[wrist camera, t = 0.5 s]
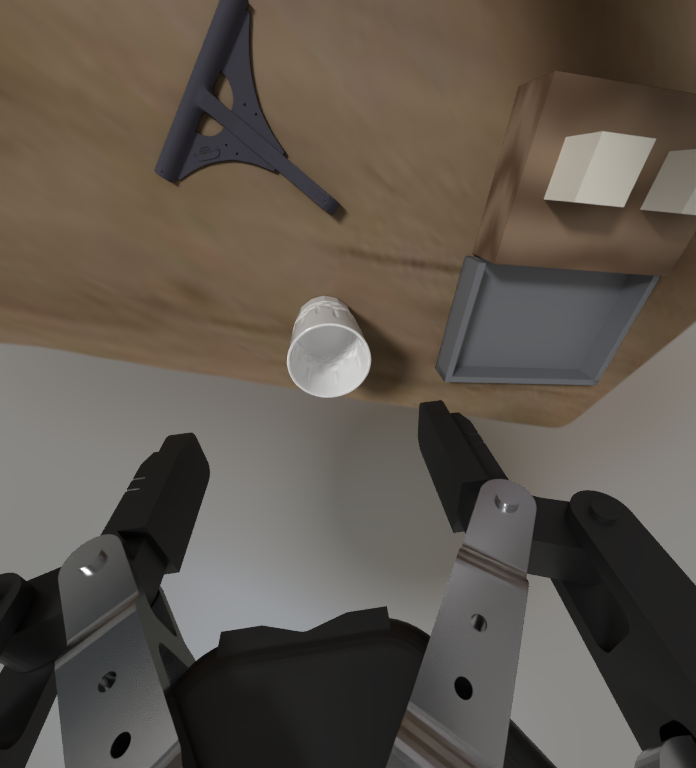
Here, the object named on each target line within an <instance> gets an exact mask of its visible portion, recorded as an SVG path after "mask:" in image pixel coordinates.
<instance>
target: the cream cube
mask: <svg viewBox="0 0 696 768" xmlns="http://www.w3.org/2000/svg"><path fill="white" fill-rule="evenodd" d="M655 141H656V139H655V138H648V137H641V136H633V135H626V134H619V133H612V132H605V131H601V132H594V133H588V134H582V135H576V136H569V137H566V138H565V141H564V144H563V147H562V149H561V152H560V155H559V158H558V161H557V163H556V166H555V169H554V172H553V175H552V177H551V180H550V183H549V186H548V189H547V191H546V194H545V197H544V199H545V200H554V201H564V202H573V203H583V204H593V205H603V206H614V207H624V206H625V204H626V201H627V199H628V197H629V195H630V193H631V191H632V189H633V187H634V185H635V183H636V180H637V178H638V176H639V174H640V172H641V170H642V168H643V166H644V164H645V162H646V159H647V157H648V155H649V153H650V151H651V149H652V147H653V145H654V143H655Z"/></svg>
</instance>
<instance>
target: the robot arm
mask: <svg viewBox="0 0 696 768" xmlns="http://www.w3.org/2000/svg"><path fill="white" fill-rule="evenodd" d="M418 441H419V447H420V450H421V453H422V456H423V458H424V460H425V463H426V466H427V468H428V470H429V473H430V476H431V478H432V480H433V483H434V486H435V488H436V491H437V493H438V496H439V498H440V501H441V503H442V505H443V508H444V510H445V513H446V516H447V518H448V521H449V523H450V525H451V528H452V530H453V533H456V532H463V531H464V532H465V534H466V535H465V538H464V541H463V544H462V547H461V549H460V550H459V552H458V555H457V557H456V560H455V563H454V566H453V570H452V572H451V576H450V579H449V582H448V585H447V588H446V591H445V594H444V597H443V600H442V603H441V606H440V609H439V612H438V615H437V618H436V622H435V624H434V627H433V630H432V634H431V636H429V635H428V634H427V633H425V632H424V631H422V630H421V629H419V628H417V627H415V626H413V625H411V624H409V623H407V622H403V621H400V620H397V619H391V618H389V616H388V610H387V606H386V607H379V608H372V609H366V610H360V611H353V612H347V613H345V614H343V615H340V616H339V617H336V618H334V619H332V620H330V621H328V622H326V623H324V624H321V625H319V626H317V627H315V628H313V629H311V630H309V631H306V632H298V631H292V630H286V629H280V628H274V627H268V626H256V627H250V628H244V629H237V630H231V631H225V632H221V635H220V640H219V645H218V647H216V648H214V649H213V650H211V651H210V652H208V653H206V654H205V655H203V656H202V657H201V658H199V659H198V660H197V661H195V659H194V657H193V655H192V654H191V652H190V651H189V649H188V648H187V646H186V644H185V642H184V640H183V638H182V635H181V633H180V631H179V628H178V626H177V624H176V621H175V618H174V616H173V613H172V611H171V608H170V606H169V604H168V601H167V599H166V596H165V594H164V591H163V589H162V588H161V586H160V584H161V581H162V578H163V576H164V574H170V573H177V572H179V571H180V568H181V565H182V562H183V559H184V556H185V553H186V549H187V546H188V543H189V540H190V537H191V534H192V530H193V528H194V525H195V522H196V519H197V515H198V512H199V509H200V506H201V503H202V500H203V497H204V494H205V491H206V488H207V485H208V481H209V477H210V469H209V464H208V461H207V459H206V457H205V455H204V453H203V451H202V449H201V446H200V444H199V442H198V440H197V438H196V436H195V435H194V434H193V433H184V434H177V435H170V436H168V437H167V438H166V439H165V441H164V443H163V445H162V447H161V448H160V450H159V452H154V453H153V454H152V455H151V456H150V457H148V459H147V460H145V461H144V462H143V463H142V464H141V466H140V467H139V469H138V471H137V473H136V474H135V476H134V478H133V479H134V480H133V481H132V482H131V483H130V485H129V487H128V488H127V492H125V494H124V495H123V497H122V499H121V501H120V502H119V504H118V506H117V508H116V509H115V511H114V513H113V515H112V516H111V518H110V520H109V522H108V523H107V525H106V527H105V529H104V530H103V532H102V534H101V535H100V536H98V537H96V538H93V539H91V540H89V541H87V542H85V543H84V544H82V545H81V546H80V547H78V548H77V549H76V550H75V551H74V552H73V553H72V554H71V555H70V556H69V557H68V558H67V560H66V561H65V562H64V564H63V565H62V567H60V568H57V569H55V570H53V571H50V572H48V573H45V574H43V575H40V576H38V577H36V578H33V579H31V580H29V581H25V580H24V579H23V578H22V577H20V576H19V575H18V574H15V573H4V574H1V575H0V663H1V664H3V665H5V666H4V667H3V669H2V671H1V673H0V768H25V766H26V764H27V761H28V759H29V757H30V755H31V752H32V750H33V748H34V746H35V743H36V741H37V739H38V736H39V734H40V732H41V729H42V727H43V725H44V723H45V720H46V718H47V716H48V714H49V711H50V709H51V707H52V704H53V702H54V700H55V698H56V695H57V696H58V705H59V715H60V724H61V734H62V742H63V752H64V761H65V768H557V767H556V766H555V765H554V764H553V763H552V762H551V761H550V760H549V759H548V758H547V757H546V756H545V755H544V754H543V753H542V751H541V750H540V749H538V747H537V746H536V745H535V744H534V743H533V742H532V741H531V740H530V739H529V738H528V737H527V736H526V735H525V734H524V732H522V730H520V728H519V727H518V726H517V725H516V724H515V723H514V722H513V721H512V720H511V719H510V715H511V708H512V701H513V694H514V687H515V680H516V673H517V666H518V659H519V652H520V645H521V638H522V631H523V624H524V617H525V611H526V610H525V609H526V603H527V597H528V587H529V586H528V585H529V583H528V580H527V579H526V576H527V574H532V575H538V576H542V577H548V578H550V579H551V581H552V582H553V584H554V586H555V588H556V590H557V592H558V594H559V596H560V597H561V599H562V601H563V603H564V605H565V607H566V609H567V611H568V612H569V614H570V616H571V618H572V620H573V622H574V624H575V625H576V627H577V629H578V631H579V633H580V635H581V637H582V639H583V641H584V642H585V644H586V646H587V648H588V650H589V652H590V654H591V655H592V657H593V659H594V661H595V663H596V665H597V667H598V669H599V671H600V672H601V674H602V676H603V678H604V680H605V682H606V684H607V686H608V687H609V689H610V691H611V693H612V695H613V697H614V699H615V701H616V703H617V704H618V706H619V708H620V710H621V712H622V714H623V716H624V718H625V719H626V721H627V723H628V725H629V727H630V729H631V731H632V733H633V734H634V736H635V738H636V740H637V742H638V744H639V746H640V748H641V749H642V751H643V752H641V753H640V755H639V756H638V757H637V760H636V762H635V767H634V768H696V585H695V584H694V583H693V582H692V581H691V580H690V579H689V577H687V575H686V574H685V573H684V572H683V570H682V569H681V568H680V567H679V566H678V565H677V564H676V562H675V561H674V560H673V559H672V558H671V557H670V556H669V554H668V553H667V552H666V551H665V550H664V549H663V547H662V546H661V545H660V544H659V543H658V542H657V541H656V539H655V538H654V537H653V536H652V535H651V534H650V533H649V532H648V530H647V529H646V528H645V527H644V526H643V525H642V523H641V522H640V521H639V520H638V519H637V518H636V517H635V515H634V514H633V513H632V512H631V511H630V510H629V509H628V508H627V507H626V506H625V505H624V504H622V503H621V502H620V501H618V500H617V499H615V498H613V497H611V496H609V495H607V494H604V493H601V492H597V491H589V490H586V491H580V492H577V493H576V494H574V495H573V496H572V498H571V500H570V502H567V501H560V500H553V499H546V498H540V497H536V496H532V495H531V494H530V493H529V491H527V490H526V489H525V488H524V487H522V486H521V485H519V484H517V483H515V482H513V481H510V480H509V479H508V478H507V477H506V475H505V474H504V472H503V471H502V469H501V468H500V466H499V465H498V463H497V461H496V460H495V458H494V457H493V455H492V454H491V452H490V451H489V449H488V448H487V446H486V444H485V443H483V440H482V438H481V437H480V435H479V434H478V433H477V430H476V429H475V428H474V426H473V424H472V423H471V421H469V420H468V419H467V418H465V417H464V416H463V415H461V414H460V413H459V412H458V413H449V411H448V409H447V408H446V406H445V404H444V402H443V401H442V400H439V401H431V402H424V403H420V405H419V422H418Z"/></svg>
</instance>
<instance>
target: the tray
mask: <svg viewBox="0 0 696 768" xmlns="http://www.w3.org/2000/svg"><path fill="white" fill-rule="evenodd" d="M659 278H660V276H652V275H639V274H626V273H612V272H599V271H586V270H573V269H559V268H546V267H533V266H520V265H506V264H494V263H492V262H490V261H488V260H485V259H483V258H481V257H472V256H465V259H464V262H463V266H462V270H461V274H460V277H459V281H458V285H457V289H456V292H455V296H454V300H453V304H452V307H451V311H450V315H449V319H448V322H447V326H446V330H445V334H444V337H443V341H442V345H441V349H440V352H439V356H438V360H437V364H436V367H435V368H436V370H437V371H438V373H439V374H440V376H441V377H442V379H443V380H444V382H474V383H519V384H564V385H597V383H598V382H599V380H600V378H601V377H602V375H603V373H604V371H605V370H606V368H607V366H608V365H609V363H610V361H611V360H612V358H613V356H614V354H615V353H616V351H617V349H618V348H619V346H620V344H621V343H622V341H623V339H624V338H625V336H626V334H627V332H628V331H629V329H630V327H631V326H632V324H633V322H634V321H635V319H636V317H637V315H638V314H639V312H640V310H641V309H642V307H643V305H644V304H645V302H646V300H647V298H648V297H649V295H650V293H651V292H652V290H653V288H654V287H655V285H656V283H657V281H658V280H659Z"/></svg>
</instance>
